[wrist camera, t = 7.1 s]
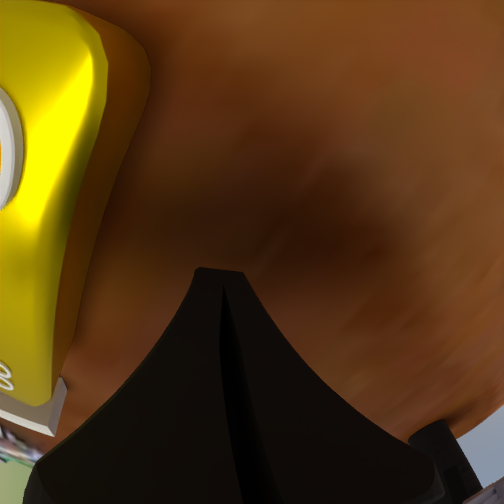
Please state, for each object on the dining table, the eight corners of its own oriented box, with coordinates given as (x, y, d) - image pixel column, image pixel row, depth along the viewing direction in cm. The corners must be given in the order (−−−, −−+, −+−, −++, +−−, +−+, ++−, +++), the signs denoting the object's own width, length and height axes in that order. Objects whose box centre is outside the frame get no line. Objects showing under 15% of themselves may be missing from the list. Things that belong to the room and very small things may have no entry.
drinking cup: (383, 450, 26) (425, 589, 9) (433, 414, 23) (490, 568, 6) (420, 444, 29) (461, 562, 12) (464, 410, 25) (516, 537, 8)
